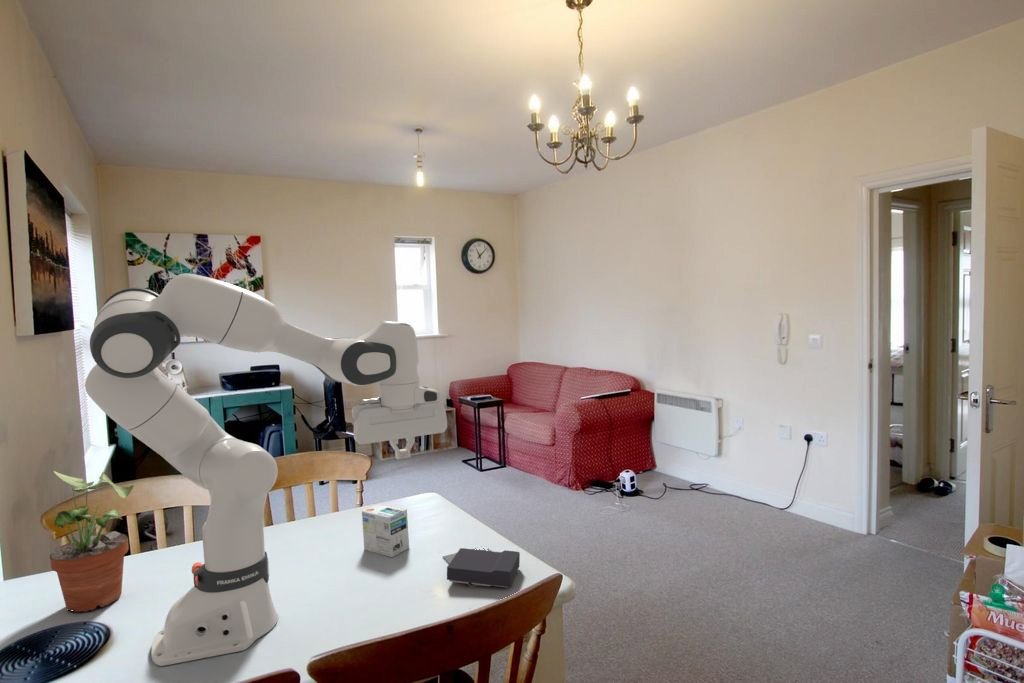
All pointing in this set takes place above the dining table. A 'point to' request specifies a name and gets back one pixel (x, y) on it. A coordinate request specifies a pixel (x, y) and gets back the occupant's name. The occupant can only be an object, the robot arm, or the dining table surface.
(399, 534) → the light bulb box
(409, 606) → the dining table surface
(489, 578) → the dark grey lidded case
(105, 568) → the potted plant
